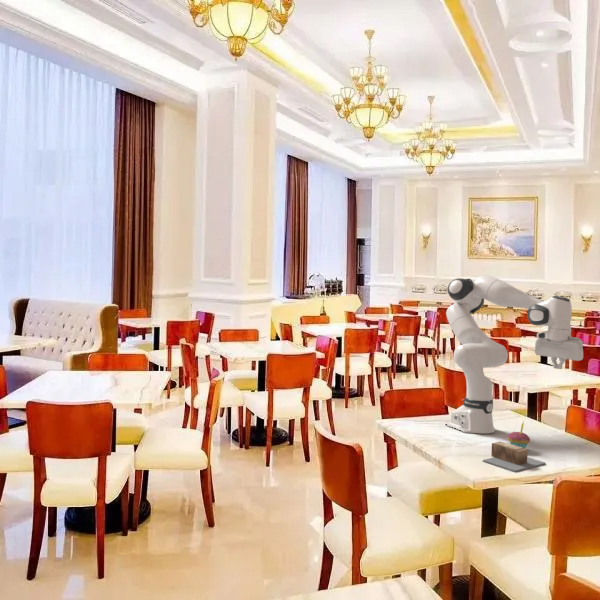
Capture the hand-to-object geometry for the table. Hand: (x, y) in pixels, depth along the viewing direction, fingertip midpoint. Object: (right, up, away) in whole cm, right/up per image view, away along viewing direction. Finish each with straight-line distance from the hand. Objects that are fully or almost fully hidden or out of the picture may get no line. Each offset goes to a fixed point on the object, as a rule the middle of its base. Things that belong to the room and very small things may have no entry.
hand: (557, 368), depth 252 cm
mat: (-28, -32, -28) cm, 51 cm away
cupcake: (-20, -31, -11) cm, 39 cm away
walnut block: (-33, -28, -21) cm, 48 cm away
